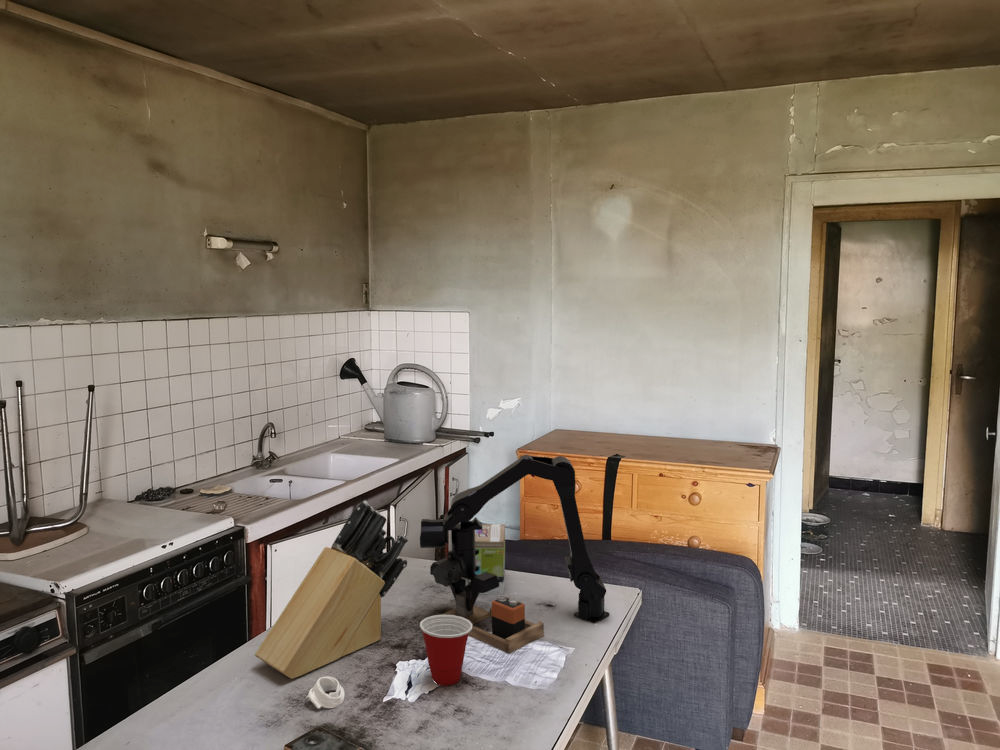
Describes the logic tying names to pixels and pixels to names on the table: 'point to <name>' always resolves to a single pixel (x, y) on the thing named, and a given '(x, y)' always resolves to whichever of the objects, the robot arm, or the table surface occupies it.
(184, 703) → the table surface
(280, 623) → the knife block
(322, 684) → the white plastic ring
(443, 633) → the plastic cup
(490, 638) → the wooden tray frame
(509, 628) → the battery
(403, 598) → the table surface
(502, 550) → the tea box
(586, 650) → the table surface
